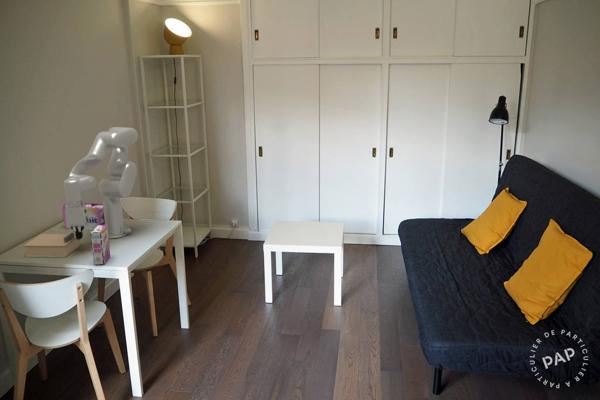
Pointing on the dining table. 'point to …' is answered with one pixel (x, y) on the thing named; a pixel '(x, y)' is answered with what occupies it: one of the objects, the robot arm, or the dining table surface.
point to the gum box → (90, 215)
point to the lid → (52, 240)
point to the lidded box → (52, 250)
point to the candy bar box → (100, 244)
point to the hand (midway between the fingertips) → (79, 238)
